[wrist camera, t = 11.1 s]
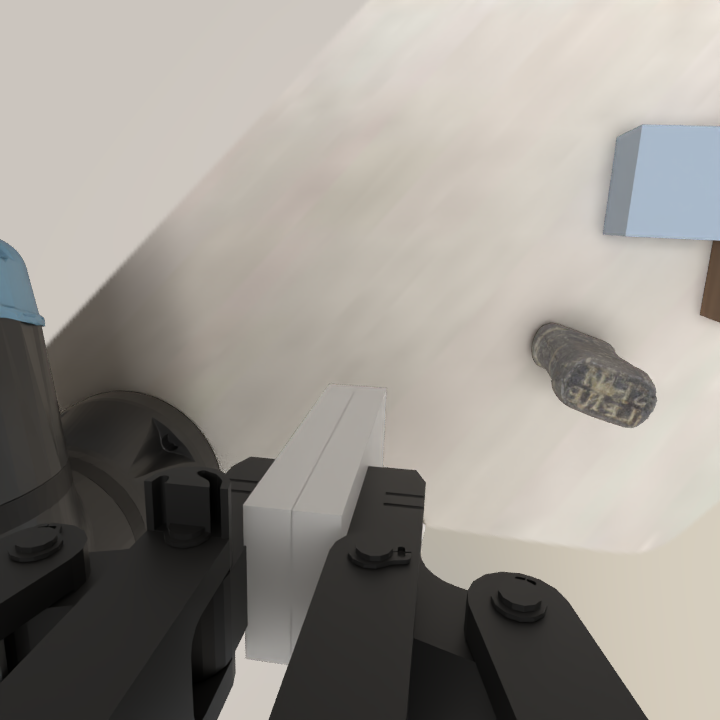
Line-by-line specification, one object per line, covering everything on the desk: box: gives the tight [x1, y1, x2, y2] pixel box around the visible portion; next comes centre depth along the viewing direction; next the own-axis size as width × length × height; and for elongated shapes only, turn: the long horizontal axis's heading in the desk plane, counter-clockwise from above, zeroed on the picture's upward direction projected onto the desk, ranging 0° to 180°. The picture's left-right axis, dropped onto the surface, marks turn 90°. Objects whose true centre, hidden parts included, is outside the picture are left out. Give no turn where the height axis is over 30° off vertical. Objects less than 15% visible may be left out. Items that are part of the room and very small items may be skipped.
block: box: [603, 125, 720, 241], centre depth 34 cm, size 6×6×5 cm
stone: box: [532, 323, 657, 428], centre depth 35 cm, size 3×6×10 cm, turn 69°
